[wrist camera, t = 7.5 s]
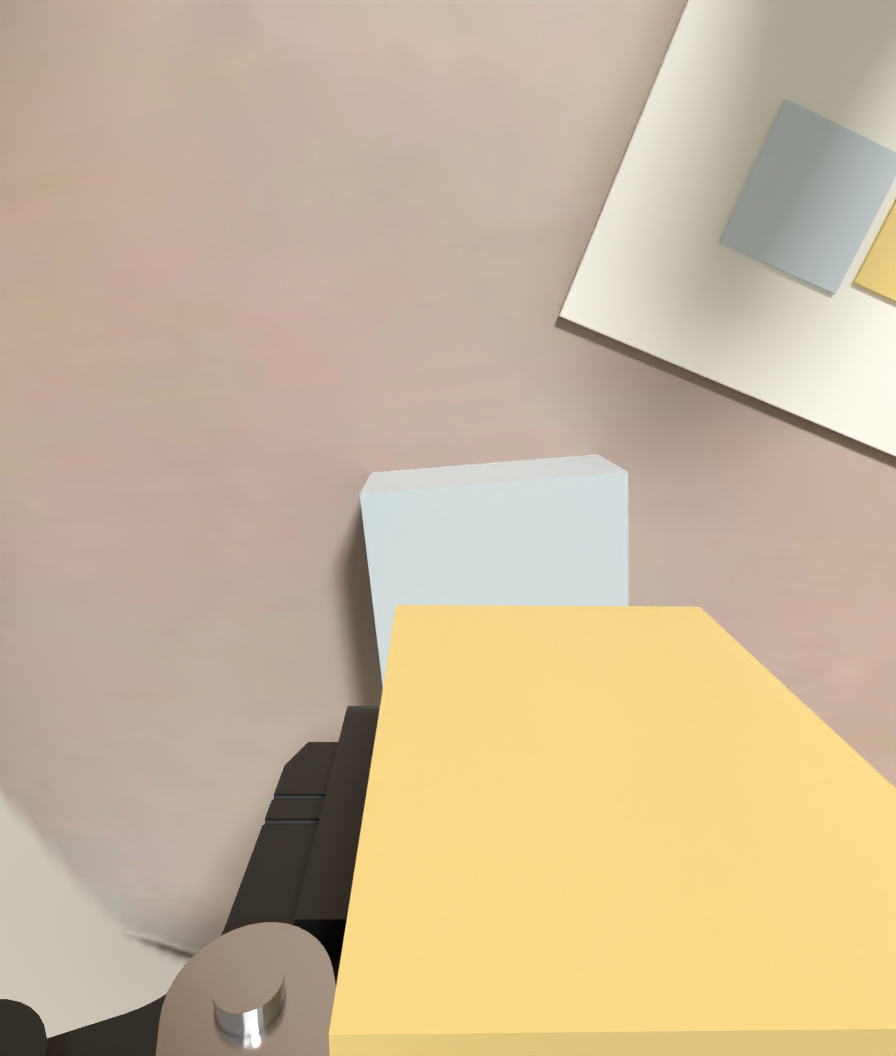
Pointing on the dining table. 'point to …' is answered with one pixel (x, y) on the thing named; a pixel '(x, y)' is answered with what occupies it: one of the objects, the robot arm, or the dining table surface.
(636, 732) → the ochre brick
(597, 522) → the base brick
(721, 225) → the page
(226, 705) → the dining table surface
